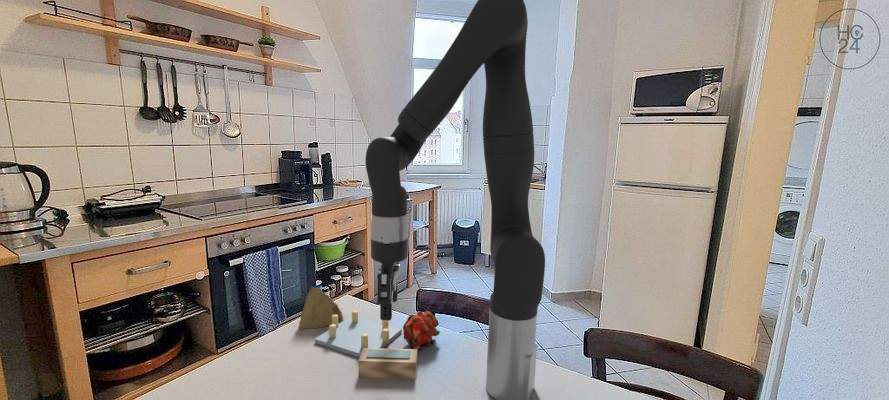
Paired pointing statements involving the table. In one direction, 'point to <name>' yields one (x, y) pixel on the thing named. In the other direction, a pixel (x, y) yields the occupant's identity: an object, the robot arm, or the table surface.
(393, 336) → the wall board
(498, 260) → the robot arm
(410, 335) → the dragon fruit
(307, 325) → the rock
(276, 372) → the table surface
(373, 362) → the frame
